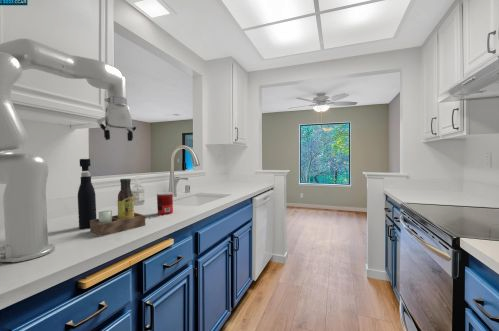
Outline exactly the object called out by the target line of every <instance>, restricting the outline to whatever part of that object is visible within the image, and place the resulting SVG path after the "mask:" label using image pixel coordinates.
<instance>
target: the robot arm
mask: <svg viewBox="0 0 499 331" xmlns="http://www.w3.org/2000/svg"><path fill="white" fill-rule="evenodd" d="M30 69H33V70H36V71H37V70H38V71H41V72H44V73H48V74H51V75H55V76H58V77H60V78H61V77H62V78H65V79H71V80H82V79H83V80H84V79H85V80H86V81H87V83H88V84H89V85H90V87H93V88H96V89H102V90H107V98H106V97H105V98H104V102H106V103H107V104H106V106H105V113H104V117H102V118H99V119H96V122H97V124H98V127H99V128H100V129H102V131H103V137H104V139H105V141H108V140H111V132H110V131H111V130H109V129H110V128H115V129H125V130H126V131H127V141H128V142H131V141H133V138H134V135H133V134H134V132H135V131H136V130H137V127H138V125H139V124H138V123H137V122H135V121H134V120H133V119H132V114H131V110H130V107H129V106H128V100H127V80H126V78H125V76H124V75H123V74H122V72H120V70H119V69H118V68H117V67H115V66H114V65H112V64H109V63H107V62H104V61H102V60H97V59H94V58H88V57H84V56H79V55H73V54H70V53H66V52H64V51H61V50H58V49H56V48H54V47H51V46H50V45H49V46H48V45H46V44H43V43H41V42H38V41H36V40H32V39H30V38H29V39H28V38H18V39H13V40H9V41H5V42H2V43H0V185H1V184H2V185H3V184H5V188H4V192H3V196H2V204H3V205H2V206H3V218H4V219H3V220H4V237H5V241H4V242H3V243H2V245H1V246H0V263H2V262H12V263H18V262H24V261H28V260H33V259H36V258H40V257H43V256H45V255H48V254H50V253H52V252H53V251H54V250H55V248H56V245H55V244H53V243H49V235H48V234H49V232H48V213H47V197H46V196H47V195H46V194H47V190H46V189H47V182H48V174H49V166H48V163H47V161H46V160H45V159H44V158H43V157H41V156H40V155H37V154H34V153H31V152H17V153H15V151H14V150H18V149H21V148H23V147H25V146H26V144H27V143H28V141H29V136H28V133H27V131H26V129H25V127H24V124H23V123H22V120H21V119H20V116H19V114H18V113H17V111H16V108H15V106H14V104H13V100H12V89H13V87H14V86H15V84H16V83H17V82H18V81H19V80H20V79H21V77H22V75H23V71H25V70H30ZM103 122H104V123H103Z"/></svg>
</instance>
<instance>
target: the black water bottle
mask: <svg viewBox="0 0 499 331" xmlns="http://www.w3.org/2000/svg"><path fill="white" fill-rule="evenodd" d="M79 167H81V171H82V172H81V173H80V174H81V175H80V184H79V187H78V190H77V210H78V214H77V215H78V229H80V230H88V229H89V230H90V220H94V219H97V202H96V201H97V200H96V191H95V188H94V186H93V183H92V176H91V172H90V167H91V158H80V159H79Z"/></svg>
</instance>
